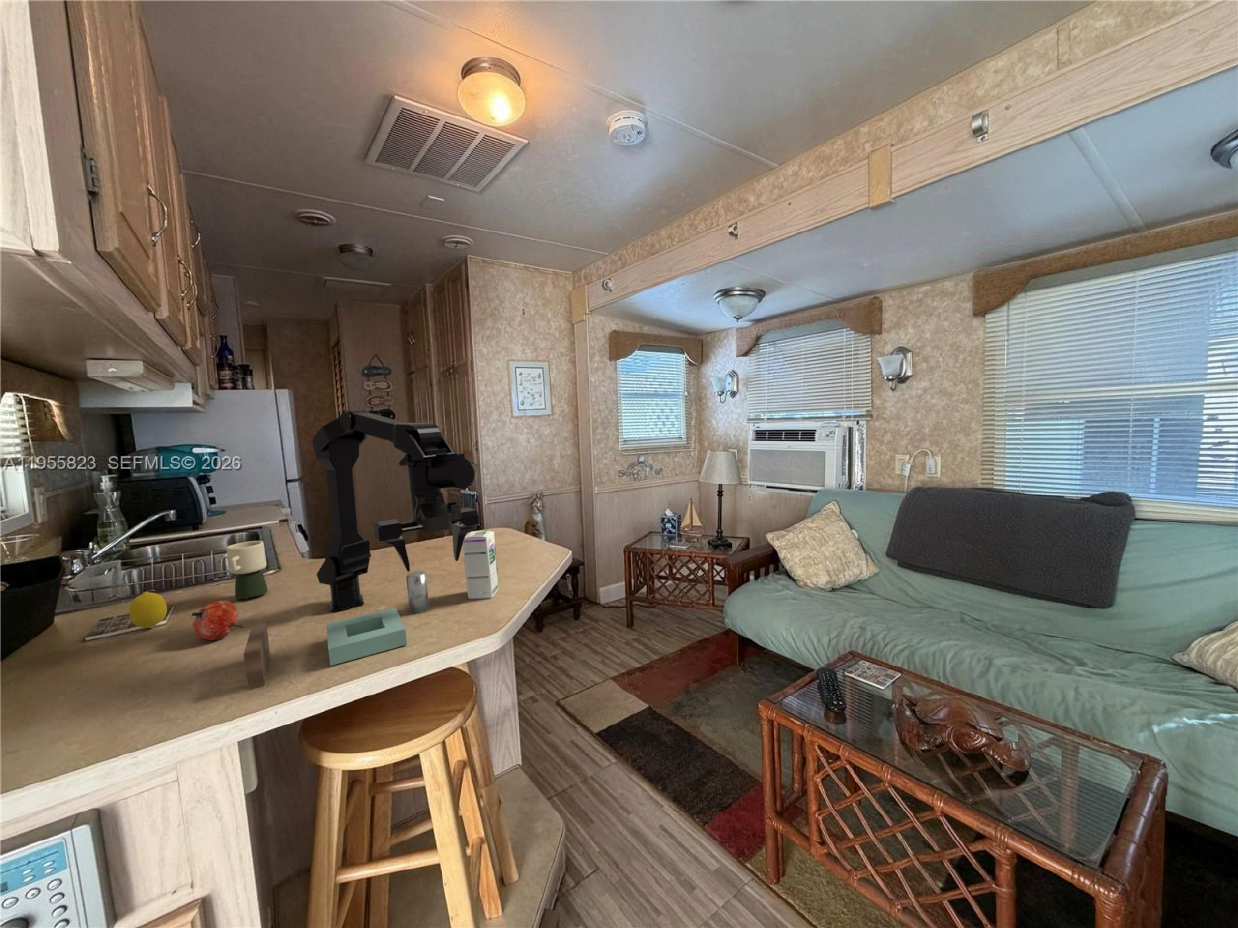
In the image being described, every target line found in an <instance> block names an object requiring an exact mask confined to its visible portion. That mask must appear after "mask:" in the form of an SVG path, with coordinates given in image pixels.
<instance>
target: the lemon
mask: <svg viewBox="0 0 1238 928" xmlns="http://www.w3.org/2000/svg"><path fill="white" fill-rule="evenodd" d="M167 612H168V607H167V603H166V600H165V598H164V597H163V596H162V595H160V594H158V593H156V592H149V591H143V592H142V593H141V594H140V595H138V596H136V597H135V598H134V599H133V600H132V601H131V603H130V605H129V608H128V615H129V619H130V621H131V622H132V624H134V625H135V626H136V627H139V628H145V629H146V628H147V629H148V628H150V627H153V626H155V627H156V625H158V624H159V623H161V622H162V621H163V620H164V619H165V617H166V616H167Z"/></svg>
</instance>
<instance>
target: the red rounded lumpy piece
mask: <svg viewBox="0 0 1238 928" xmlns="http://www.w3.org/2000/svg"><path fill="white" fill-rule="evenodd" d="M238 614H239V613H238V607H237V606H236V605H235V604H234V603H232V602H231V601H229V600H224V599H222V600H215V601H213V602H210V603H207V605H205V606H204V607H201V609H199V610H198V611H197V612H192V613H191V618H192V617H193V616H194V617H195V618H194V619H193V621H192V622H193V623H192V628H193V631H194V632H195V635H196V636H198V637H200V638H203V639H206V640H208V641H215V640H216V641H217V640H222V639H224V638H225V637H226V636H228V635H229V634H230V632H231V627H237V628H241V629H243V628H242V627H243V626H242V625H239V624H236V623H237V622H238Z"/></svg>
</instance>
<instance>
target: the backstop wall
mask: <svg viewBox="0 0 1238 928" xmlns="http://www.w3.org/2000/svg"><path fill="white" fill-rule="evenodd" d="M269 658H271V649H270V643H269V635H268V628H267V622H265V623H261V624H260V623H259V624H255V625H252V626H251V629H250V632H249V636H248V638H247V641H246V645H245V648H244V652H243V659H244V665H245V666H244V667H245V673H246V680H247V686H248V687H247V688H248V691H249V690H253V689H256V688H260V687H264V686H265V684H266V680H267V675H268V674H267V673H268V670H269V669H268V668H269V663H270V659H269Z"/></svg>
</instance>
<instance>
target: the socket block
mask: <svg viewBox="0 0 1238 928" xmlns="http://www.w3.org/2000/svg"><path fill="white" fill-rule="evenodd" d="M326 631H327V632H326V633H327V647H328V648H327V649H328V657H329V666H330V667H332V666H335V665H339V664H342V663H345V662H349V661H353V660H357V659H361V658H365V657H368V656H372V655H374V654H378V653H382V652H385V651H389V650H392V649H396V648H399V647H400V648H401V647H403V646H407V645H408V643H407V642H408V641H407V633H406V627H405V625H404V623H403V621H402V619H401V616H400V614H399V611H398V610H397V608H396V607H393V608H392V607H391V608H387V609H385V610H379V611H375V612H371V613H367V614H362V615H358V616H354V617H350V618H347V619H342V620H337V621H334V622H329V623H326Z"/></svg>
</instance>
